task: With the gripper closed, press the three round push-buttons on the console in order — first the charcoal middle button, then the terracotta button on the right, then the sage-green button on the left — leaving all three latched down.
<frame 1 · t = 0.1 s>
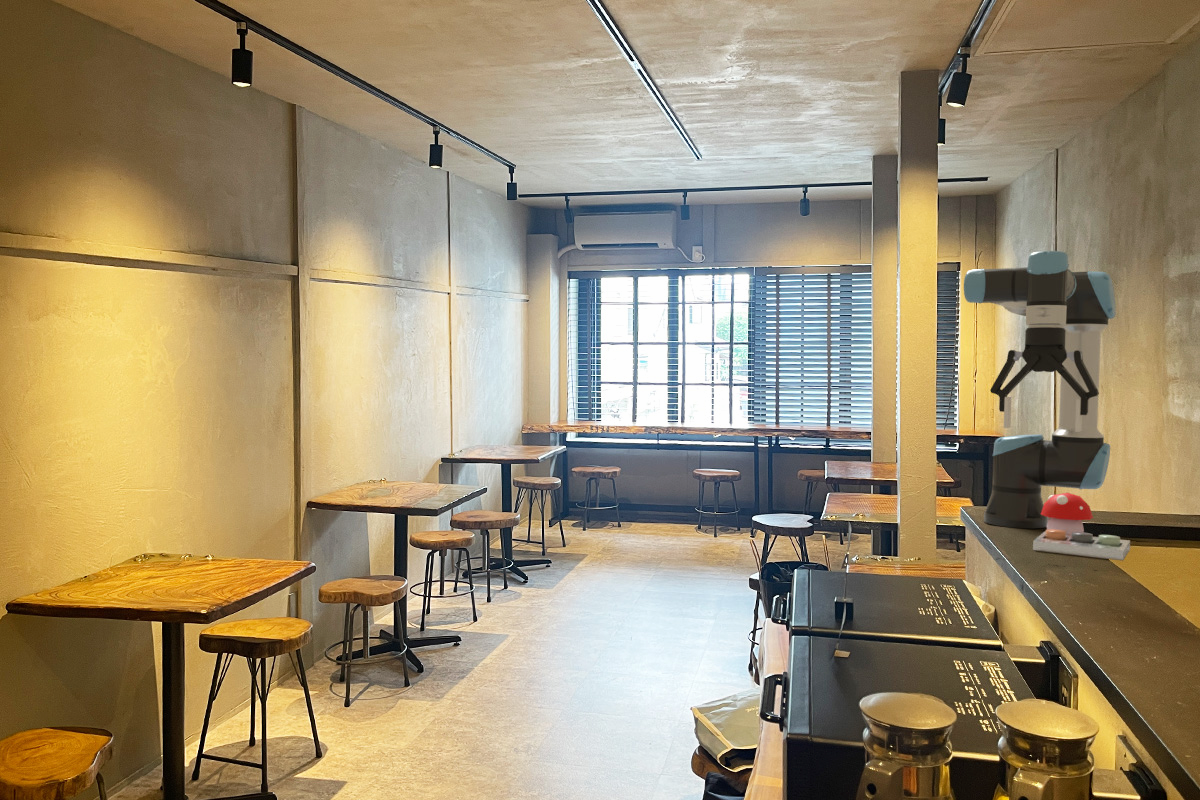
hand: (1041, 429, 193), 28 cm above the table, fingers open, 13 cm apart
console: (1081, 556, 202), on the table
mushroom: (1065, 544, 216), on the table
button terracotta: (1055, 535, 204), point 4 cm above the table, slide at 0.0 cm
button sage: (1109, 541, 199), point 4 cm above the table, slide at 0.0 cm
button charcoal: (1082, 538, 201), point 4 cm above the table, slide at 0.0 cm
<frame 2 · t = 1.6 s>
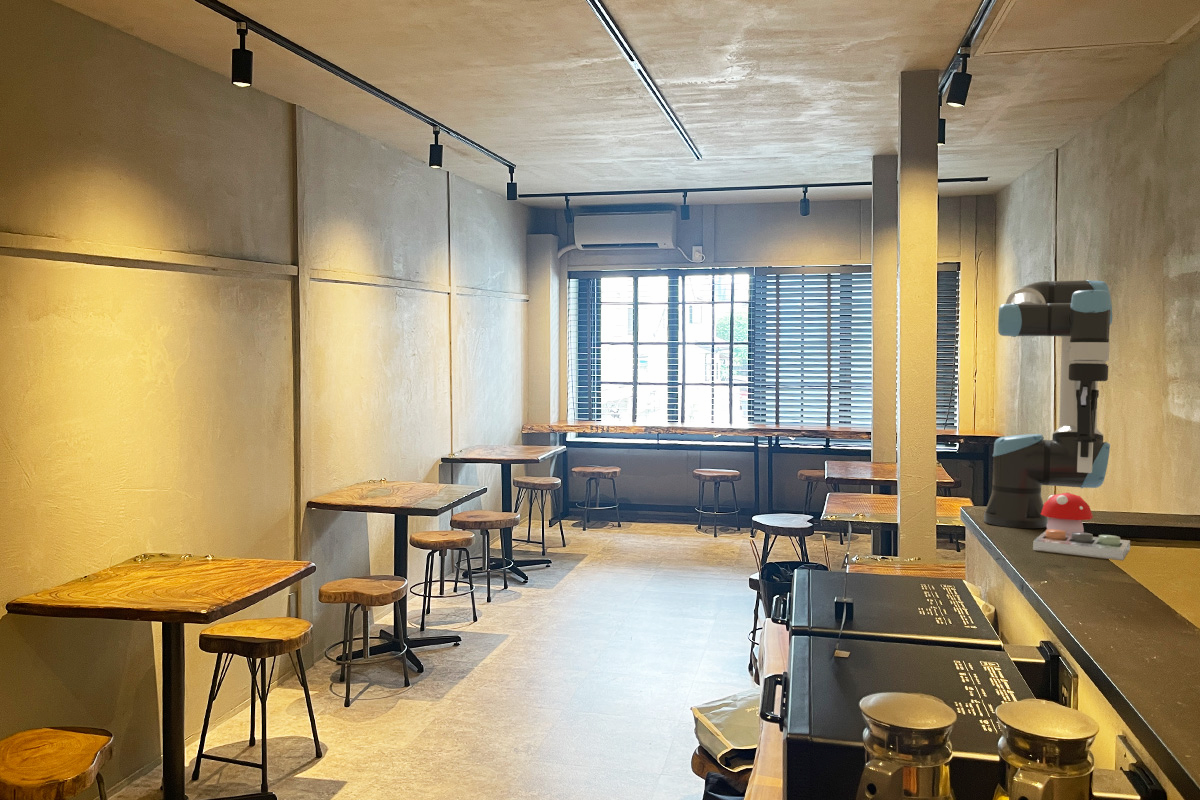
hand: (1084, 472, 201), 18 cm above the table, fingers closed
nothing on the table moved.
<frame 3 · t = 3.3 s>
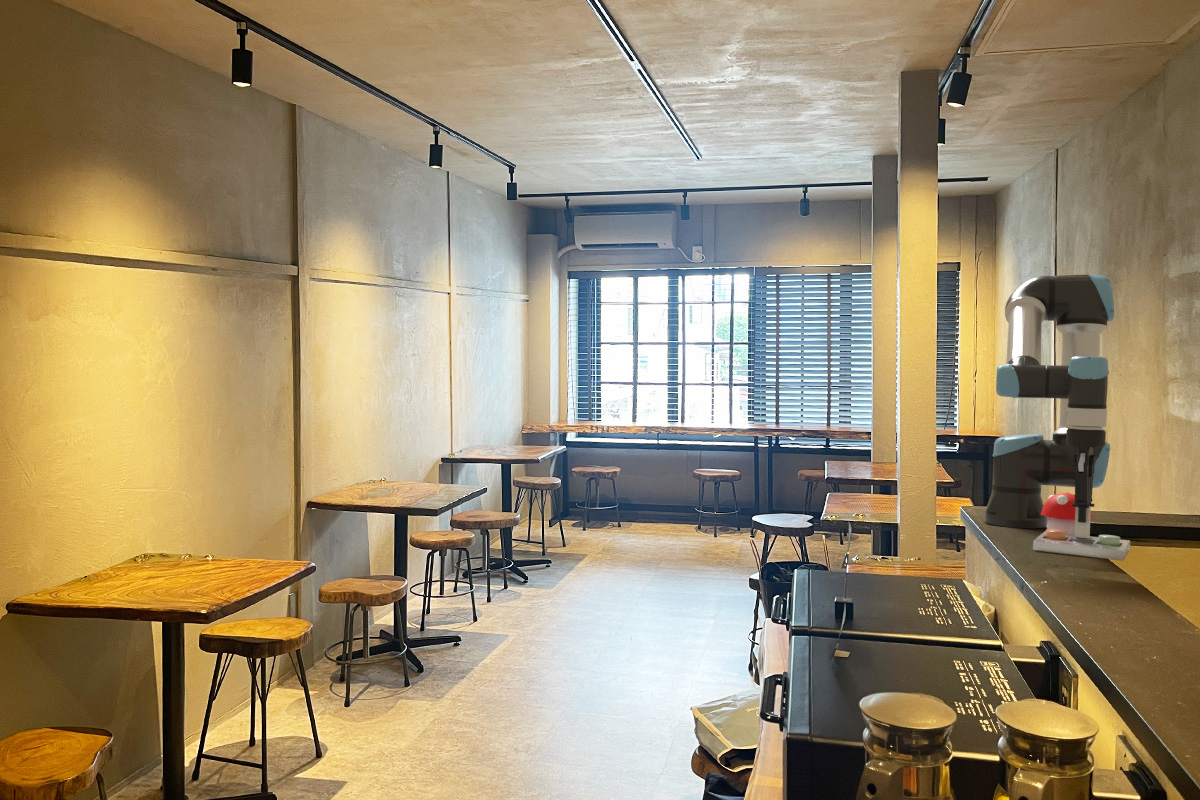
hand: (1082, 536, 201), 4 cm above the table, fingers closed
button charcoal: (1081, 543, 202), point 3 cm above the table, slide at 0.9 cm, touching gripper
everything else where it was.
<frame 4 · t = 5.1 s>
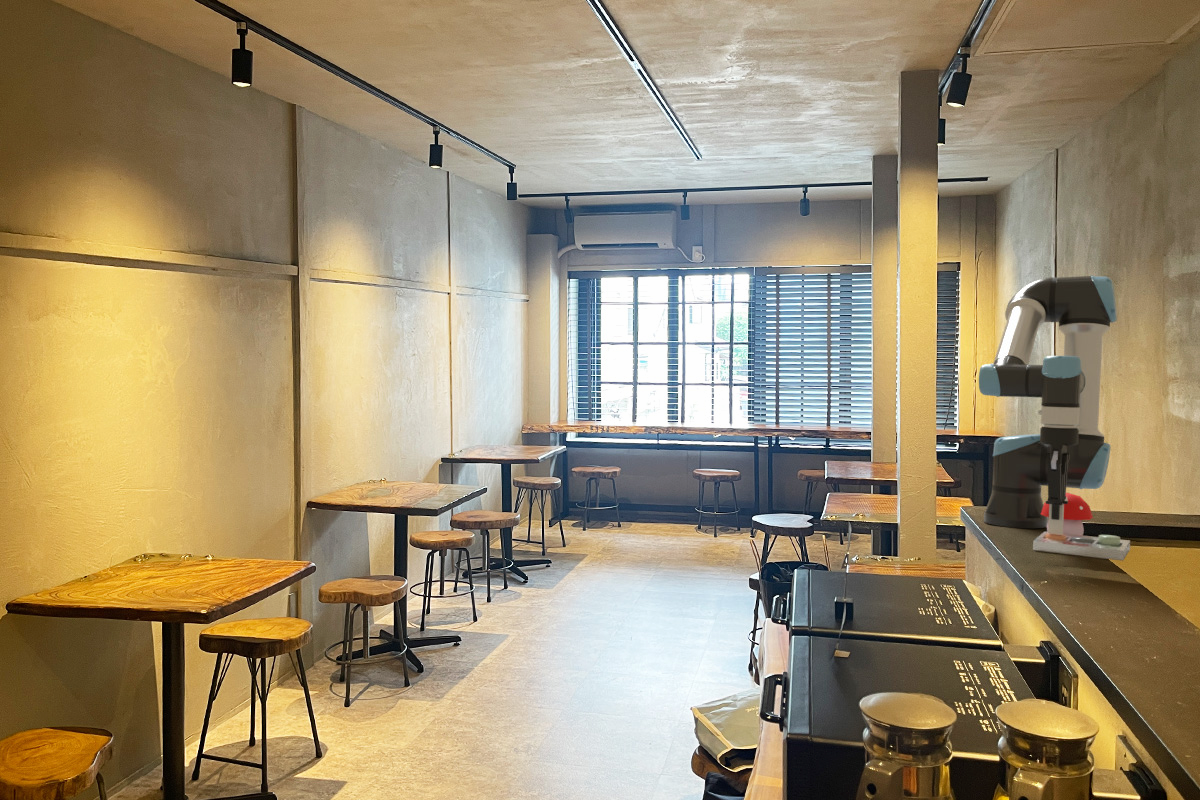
hand: (1055, 533, 204), 4 cm above the table, fingers closed
button terracotta: (1055, 539, 204), point 3 cm above the table, slide at 0.9 cm, touching gripper
button charcoal: (1081, 543, 202), point 3 cm above the table, slide at 1.0 cm
everything else where it was.
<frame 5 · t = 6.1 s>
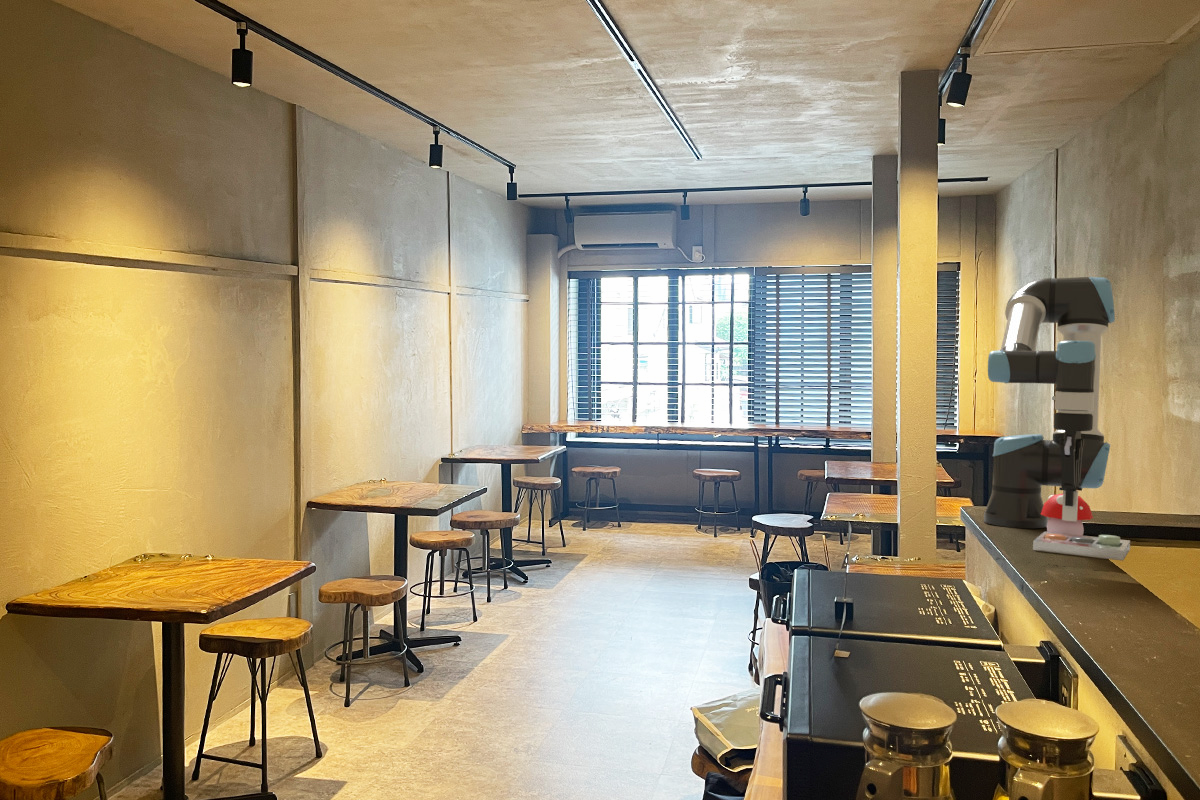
hand: (1069, 520, 202), 8 cm above the table, fingers closed
button terracotta: (1055, 540, 204), point 3 cm above the table, slide at 1.0 cm
everything else where it was.
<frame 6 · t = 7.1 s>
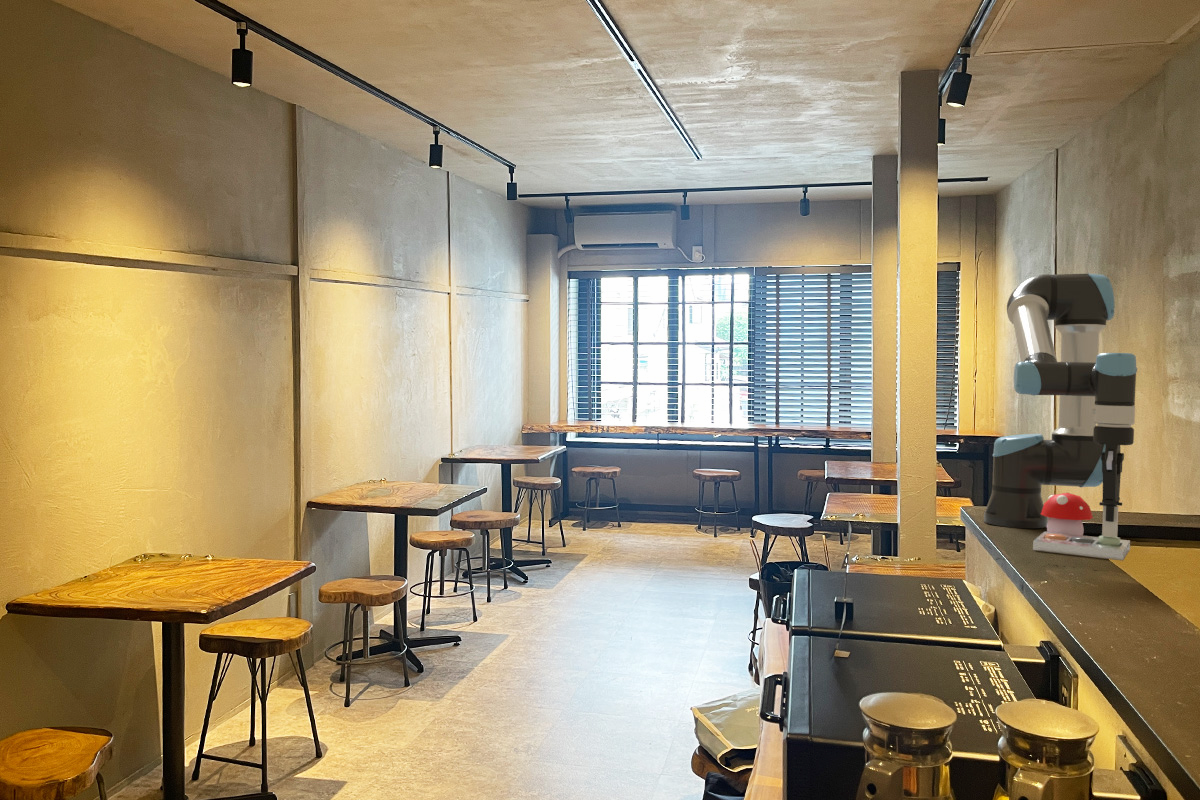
hand: (1109, 536, 198), 5 cm above the table, fingers closed
button sage: (1109, 542, 199), point 4 cm above the table, slide at 0.2 cm, touching gripper
everything else where it was.
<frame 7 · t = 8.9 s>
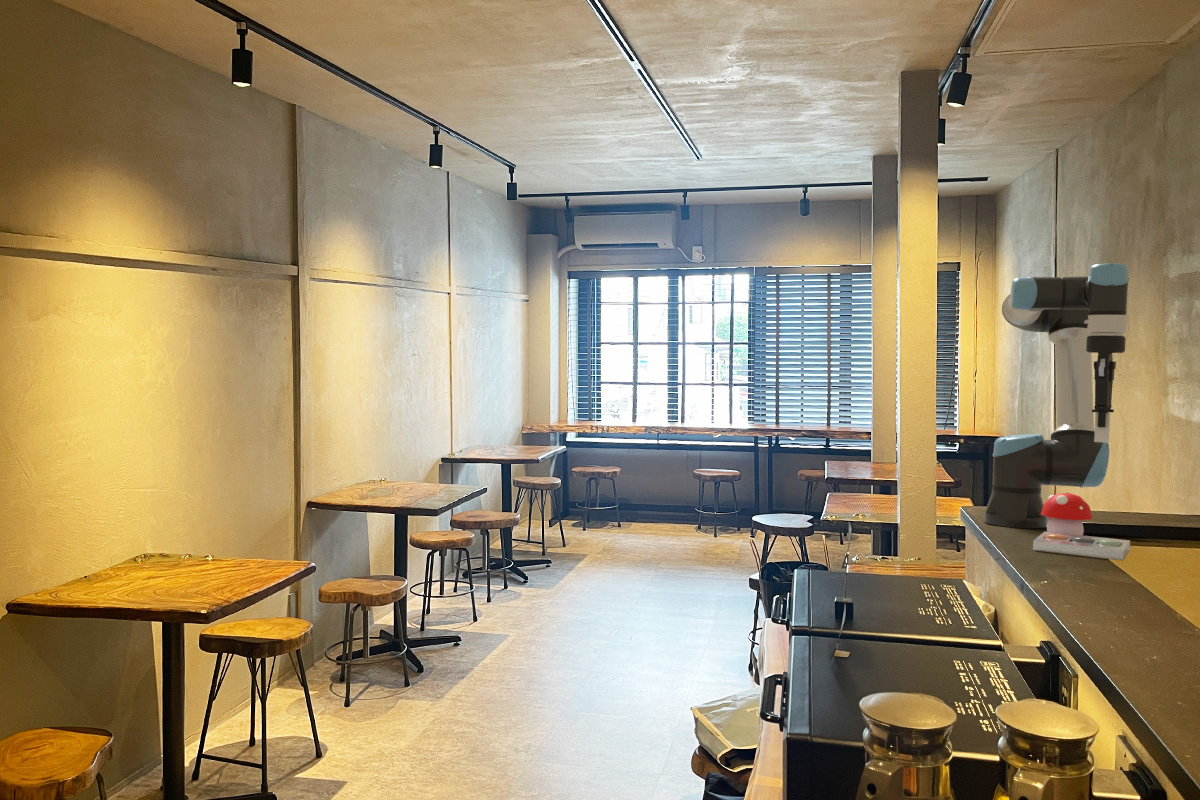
hand: (1101, 441, 206), 25 cm above the table, fingers closed
button sage: (1109, 546, 199), point 3 cm above the table, slide at 1.0 cm
everything else where it was.
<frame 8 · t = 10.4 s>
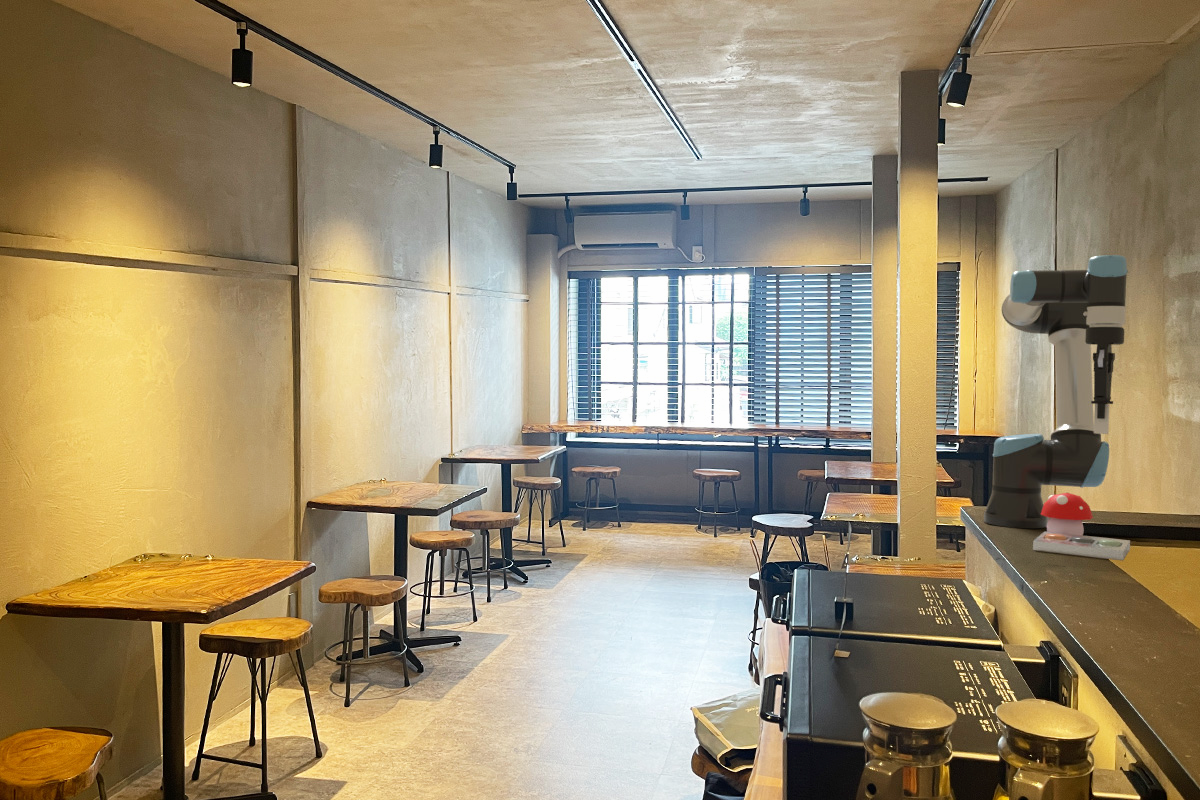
hand: (1101, 433, 206), 26 cm above the table, fingers closed
nothing on the table moved.
at the end: button charcoal slide at 1.0 cm; button terracotta slide at 1.0 cm; button sage slide at 1.0 cm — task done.
